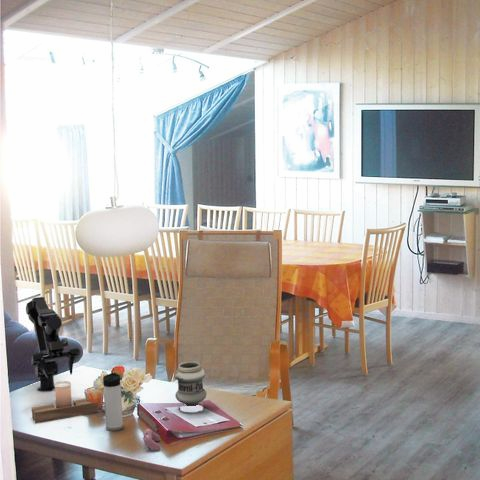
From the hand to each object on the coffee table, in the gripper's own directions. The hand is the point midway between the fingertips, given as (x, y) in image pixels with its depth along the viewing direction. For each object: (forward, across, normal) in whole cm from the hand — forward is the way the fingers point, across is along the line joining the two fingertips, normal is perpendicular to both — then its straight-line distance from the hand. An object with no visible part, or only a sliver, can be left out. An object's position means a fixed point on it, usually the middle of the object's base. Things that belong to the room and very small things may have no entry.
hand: (59, 376), depth 320 cm
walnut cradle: (+15, -1, +2) cm, 16 cm away
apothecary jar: (+27, +45, -13) cm, 54 cm away
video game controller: (+44, +19, -35) cm, 60 cm away
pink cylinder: (+14, 0, +3) cm, 15 cm away
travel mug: (+30, +12, -16) cm, 36 cm away
